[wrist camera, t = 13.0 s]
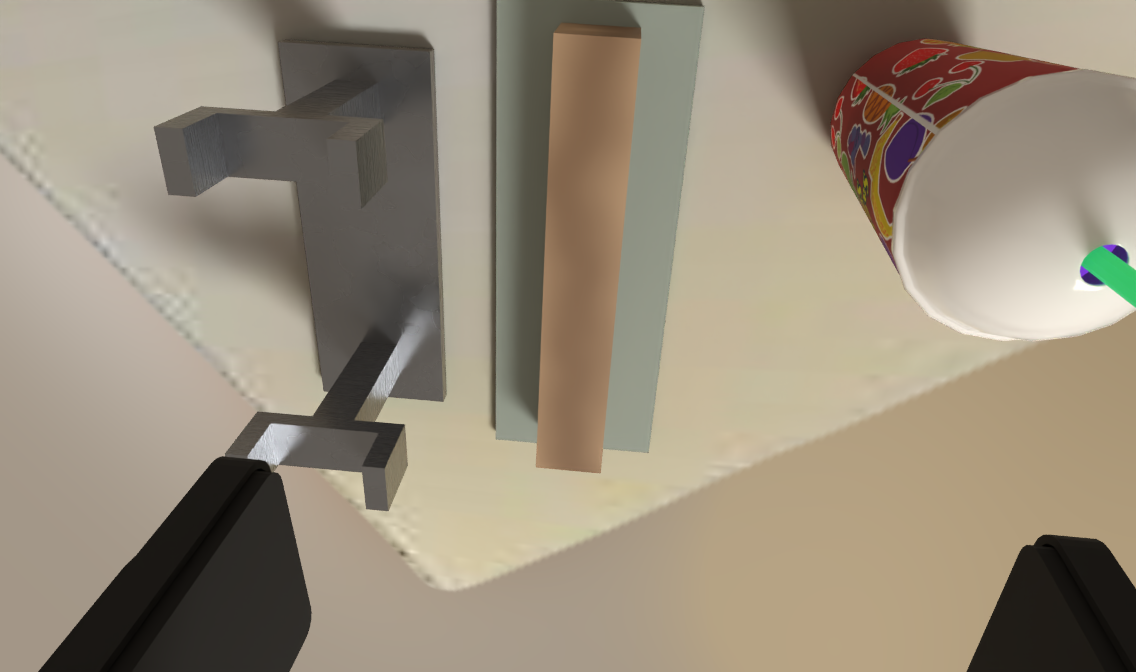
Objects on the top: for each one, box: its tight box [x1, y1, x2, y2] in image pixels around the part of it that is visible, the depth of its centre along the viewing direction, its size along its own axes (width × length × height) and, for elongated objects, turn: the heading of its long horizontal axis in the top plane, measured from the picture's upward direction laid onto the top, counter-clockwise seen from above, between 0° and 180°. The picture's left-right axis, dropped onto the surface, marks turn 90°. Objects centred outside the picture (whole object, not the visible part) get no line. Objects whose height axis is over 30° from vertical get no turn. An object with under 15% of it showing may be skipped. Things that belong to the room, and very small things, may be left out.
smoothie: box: [831, 38, 1136, 341], centre depth 26 cm, size 8×8×20 cm
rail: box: [536, 22, 641, 473], centre depth 37 cm, size 4×22×4 cm, turn 177°
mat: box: [496, 0, 705, 453], centre depth 39 cm, size 9×24×1 cm, turn 177°
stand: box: [154, 39, 446, 511], centre depth 34 cm, size 7×19×11 cm, turn 177°
